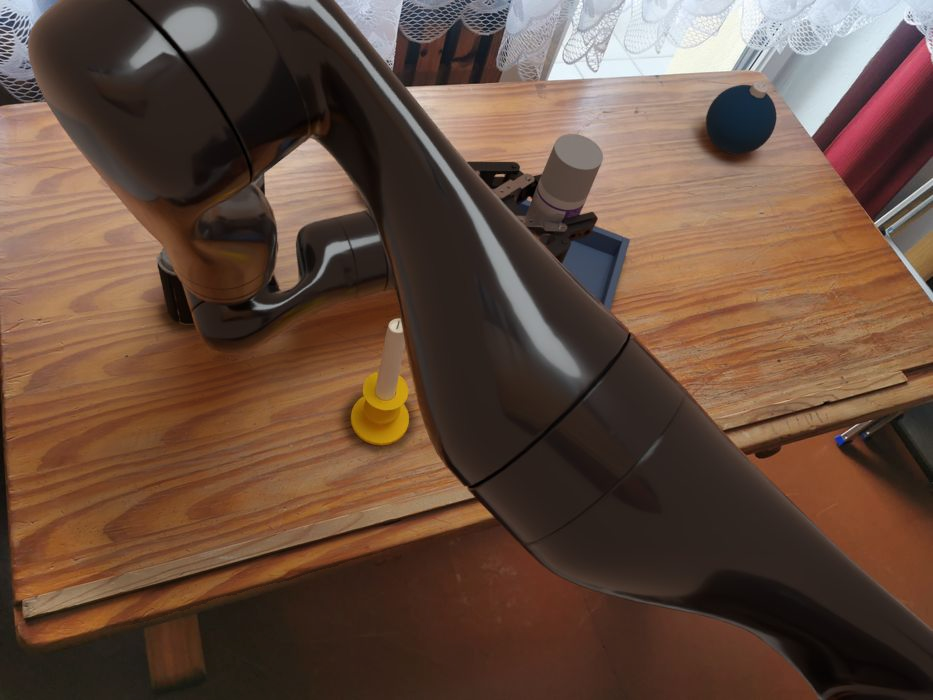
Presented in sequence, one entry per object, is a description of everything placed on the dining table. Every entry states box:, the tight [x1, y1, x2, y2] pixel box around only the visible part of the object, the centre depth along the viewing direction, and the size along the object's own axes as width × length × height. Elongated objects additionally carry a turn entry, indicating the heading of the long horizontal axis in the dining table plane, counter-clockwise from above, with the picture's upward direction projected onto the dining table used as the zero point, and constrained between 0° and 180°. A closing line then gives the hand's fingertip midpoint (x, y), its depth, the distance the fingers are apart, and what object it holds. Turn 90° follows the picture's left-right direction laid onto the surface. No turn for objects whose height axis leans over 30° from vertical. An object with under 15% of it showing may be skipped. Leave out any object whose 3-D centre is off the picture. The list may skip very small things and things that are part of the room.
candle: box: [350, 317, 410, 446], centre depth 64 cm, size 5×5×16 cm
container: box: [526, 133, 604, 235], centre depth 74 cm, size 5×5×15 cm
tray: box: [492, 189, 631, 312], centre depth 81 cm, size 18×16×3 cm
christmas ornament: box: [705, 81, 777, 155], centre depth 97 cm, size 8×8×10 cm
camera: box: [156, 173, 279, 326], centre depth 72 cm, size 15×7×10 cm, turn 160°
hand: (578, 201), depth 74 cm, fingers closed on container, 4 cm apart
